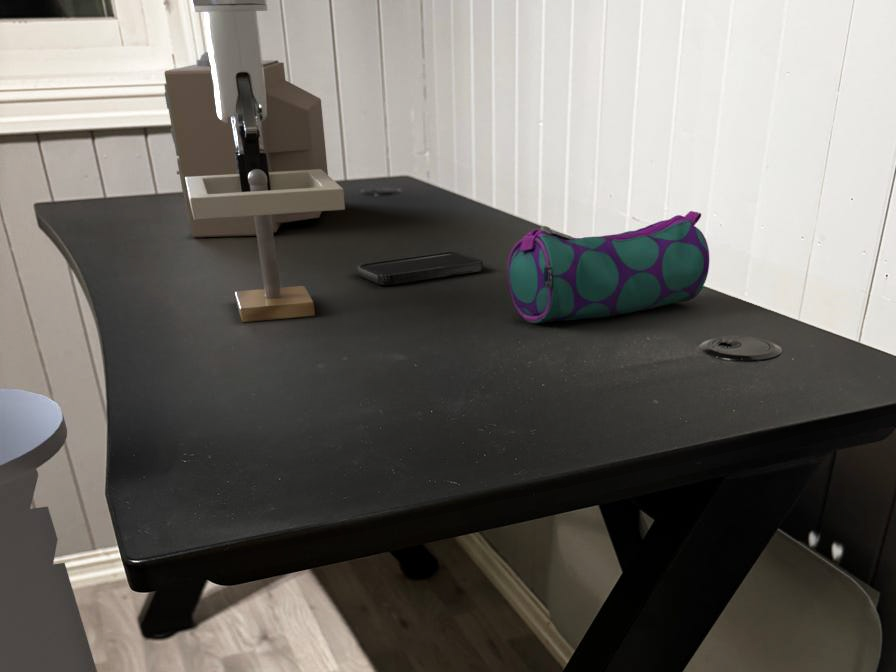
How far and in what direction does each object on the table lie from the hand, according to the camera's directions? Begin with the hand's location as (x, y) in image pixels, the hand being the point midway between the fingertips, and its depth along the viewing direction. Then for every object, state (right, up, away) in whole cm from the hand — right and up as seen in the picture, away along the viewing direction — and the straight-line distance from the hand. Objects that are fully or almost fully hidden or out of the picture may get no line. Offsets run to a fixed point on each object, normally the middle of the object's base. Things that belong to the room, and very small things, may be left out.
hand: (255, 190), depth 106 cm
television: (-11, +21, +53) cm, 58 cm away
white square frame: (+2, -4, -5) cm, 7 cm away
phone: (+18, -4, +15) cm, 24 cm away
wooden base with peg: (+2, -13, +1) cm, 13 cm away
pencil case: (+40, -15, -2) cm, 42 cm away
